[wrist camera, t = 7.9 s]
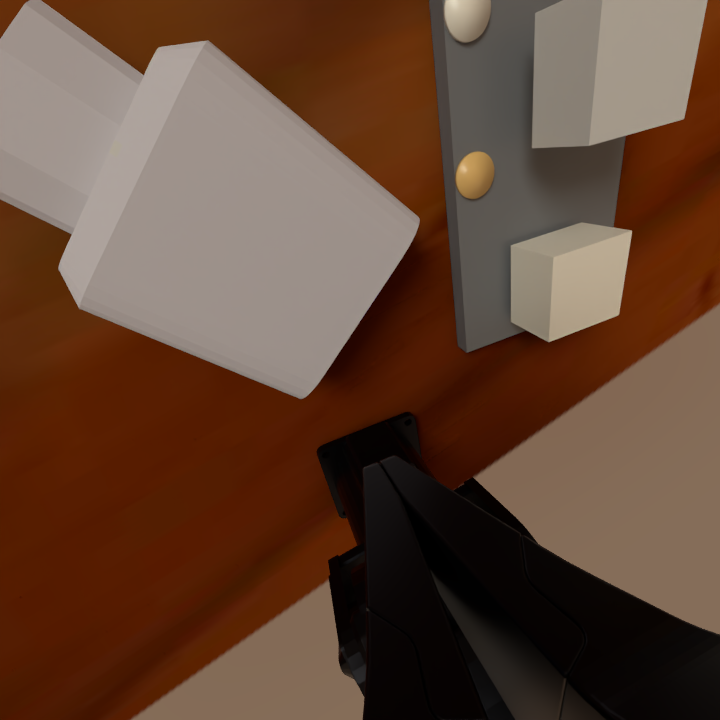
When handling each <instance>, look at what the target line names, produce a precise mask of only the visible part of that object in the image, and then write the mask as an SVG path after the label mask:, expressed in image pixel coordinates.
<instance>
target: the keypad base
mask: <svg viewBox="0 0 720 720" xmlns="http://www.w3.org/2000/svg"><path fill="white" fill-rule="evenodd" d="M560 1H562V0H429V3H430V15H431V27H432V39H433V52H434V64H435V76H436V88H437V100H438V112H439V124H440V136H441V148H442V160H443V172H444V184H445V196H446V208H447V220H448V232H449V244H450V256H451V268H452V281H453V293H454V305H455V317H456V329H457V341H458V346H459V347H460V348H461V349H463V350H464V351H465V352H467V353H468V352H470V351H473V350H476V349H478V348H481V347H484V346H486V345H489V344H492V343H494V342H497V341H500V340H502V339H505V338H508V337H510V336H513V335H516V334H518V333H521V332H523V331H526V330H525V329H523V328H521V327H519V326H518V325H516V324H514V323H512V322H511V245H513V244H516V243H520V242H523V241H526V240H529V239H532V238H535V237H538V236H541V235H544V234H547V233H550V232H553V231H556V230H559V229H563V228H566V227H569V226H572V225H575V224H578V223H581V222H583V223H589V224H595V225H601V226H607V227H613V226H614V219H615V211H616V204H617V196H618V189H619V181H620V174H621V166H622V159H623V151H624V144H625V136H622V137H619V138H615V139H612V140H608V141H605V142H601V143H597V144H594V145H590V146H575V147H550V148H532V120H533V79H534V38H535V13H536V12H538V11H541V10H543V9H545V8H547V7H549V6H551V5H554V4H556V3H558V2H560Z"/></svg>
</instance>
